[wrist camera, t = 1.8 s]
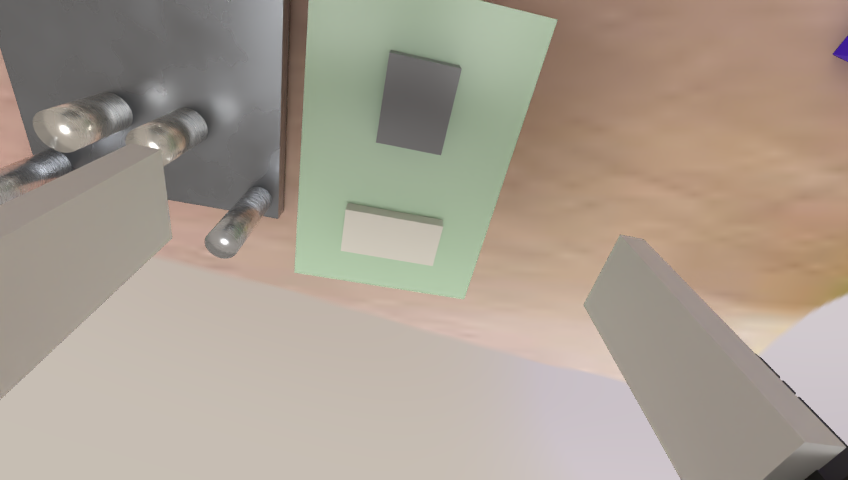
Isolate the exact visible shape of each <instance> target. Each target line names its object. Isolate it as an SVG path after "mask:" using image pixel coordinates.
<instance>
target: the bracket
mask: <svg viewBox="0 0 848 480" xmlns="http://www.w3.org/2000/svg"><path fill="white" fill-rule="evenodd" d="M833 55H835V56H837V57H839V58H841V59H843V60H845V61H847V62H848V36H847V37H846V38H845V39H844V41H843V42H842V43H841V44H840V46H839V47H838V48H837V49H836V51H835V52H834V53H833Z"/></svg>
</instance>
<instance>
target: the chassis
mask: <svg viewBox="0 0 848 480" xmlns="http://www.w3.org/2000/svg"><path fill="white" fill-rule="evenodd" d="M289 23H290V0H0V48H1V51H2V55H3V58H4V61H5V65H6V68H7V71H8V74H9V78H10V81H11V84H12V88H13V91H14V94H15V97H16V101H17V104H18V107H19V110H20V114H21V117H22V120H23V124H24V127H25V130H26V133H27V137H28V140H29V143H30V147H31V150H32V153H33V156H30V157H28V158H25V159H23V160H20V161H18V162H15V163H13V164H10V165H8V166H5V167H3V168H0V205H2V204H4V203H6V202H8V201H10V200H12V199H14V198H17V197H19V196H21V195H23V194H25V193H27V192H29V191H31V190H33V189H36V188H38V187H40V186H42V185H44V184H46V183H48V182H50V181H52V180H55V179H57V178H59V177H61V176H63V175H65V174H67V173H69V172H71V171H73V170H76V169H78V168H80V167H82V166H84V165H86V164H88V163H90V162H92V161H95V160H97V159H99V158H101V157H103V156H105V155H107V154H109V153H111V152H114V151H116V150H118V149H120V148H122V147H124V146H126V145H128V144H136V145H141V146H146V147H152V148H157V149H161V151H162V159H163V167H164V175H165V184H166V192H167V200H173V201H179V202H184V203H190V204H196V205H202V206H208V207H213V208H219V209H225V210H229V211H228V213H227V214H226V215H225V216H224V217H223V218H222V219H221V220H220V222H219V223H218V224H217V225H216V226H215V227H214V228H213V229H212V230H211V232H210V233H209V234H208V235H207V236H206V238H205V246H206V248H207V249H208V251H209V252H210V253H212V254H213V255H215V256H217V257H219V258H231V257H233V256H234V255H235V254H236V253H237V252H238V250H239V249H240V247H241V246H242V245H243V243H244V242H245V240H246V239H247V238H248V236H249V235H250V234H251V232H252V231H253V229H254V228H255V227H256V225H257V224H258V222H259V221H260V220H261V218H262V217H263V216H266V217H271V218H277V219H278V218H279V217H280V215H281V213H282V212H283V210H284V181H285V150H286V118H287V86H288V54H289Z"/></svg>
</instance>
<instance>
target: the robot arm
mask: <svg viewBox="0 0 848 480" xmlns="http://www.w3.org/2000/svg"><path fill="white" fill-rule="evenodd" d="M171 239H172V232H171V224H170V216H169V208H168V200H167V192H166V184H165V175H164V167H163V159H162V151H161V149H157V148H152V147H146V146H141V145H136V144H128V145H126V146H124V147H122V148H120V149H118V150H116V151H114V152H111V153H109V154H107V155H105V156H103V157H101V158H99V159H97V160H95V161H92V162H90V163H88V164H86V165H84V166H82V167H80V168H78V169H76V170H73V171H71V172H69V173H67V174H65V175H63V176H61V177H59V178H57V179H55V180H52V181H50V182H48V183H46V184H44V185H42V186H40V187H38V188H36V189H33V190H31V191H29V192H27V193H25V194H23V195H21V196H19V197H17V198H14V199H12V200H10V201H8V202H6V203H4V204H2V205H0V400H1V399H2V398H3V397H4V396H5V395H6V394H7V393H8V392H9V391H10V390H11V389H12V388H13V387H14V386H15V385H17V384H18V383H19V382H20V381H21V380H22V379H23V378H24V377H25V376H26V375H27V374H28V373H29V372H30V371H31V370H33V369H34V368H35V367H36V366H37V365H38V364H39V363H40V362H41V361H42V360H43V359H44V358H45V357H46V356H47V355H48V354H49V353H51V352H52V351H53V350H54V349H55V348H56V347H57V346H58V345H59V344H60V343H61V342H62V341H63V340H64V339H65V338H67V337H68V336H69V335H70V334H71V333H72V332H73V331H74V330H75V329H76V328H77V327H78V326H79V325H80V324H81V323H82V322H84V321H85V320H86V319H87V318H88V317H89V316H90V315H91V314H92V313H93V312H94V311H95V310H96V309H97V308H98V307H99V306H100V305H102V304H103V303H104V302H105V301H106V300H107V299H108V298H109V297H110V296H111V295H112V294H113V293H114V292H115V291H117V290H118V288H119V287H121V286H122V285H123V284H124V283H125V282H126V281H127V280H128V279H129V278H130V277H131V276H132V275H133V274H134V273H136V272H137V271H138V270H139V269H140V268H141V267H142V266H143V265H144V264H145V263H146V262H147V261H148V260H149V259H151V258H152V257H153V256H154V255H155V254H156V253H157V252H158V251H159V250H160V249H161V248H162V247H163V246H164V245H165V244H166V243H168V242H169V241H170V240H171ZM584 307H585V308H586V310H587V312H588V314H589V316H590V317H591V319H592V321H593V323H594V325H595V326H596V328H597V330H598V332H599V334H600V335H601V337H602V339H603V341H604V342H605V344H606V346H607V348H608V350H609V351H610V353H611V355H612V357H613V359H614V360H615V362H616V364H617V366H618V368H619V369H620V371H621V373H622V375H623V377H624V378H625V380H626V382H627V384H628V386H629V387H630V389H631V391H632V393H633V394H634V396H635V398H636V400H637V402H638V403H639V405H640V407H641V409H642V411H643V412H644V414H645V416H646V418H647V420H648V421H649V423H650V425H651V427H652V429H653V430H654V432H655V434H656V436H657V438H658V439H659V441H660V443H661V445H662V447H663V448H664V450H665V452H666V454H667V455H668V457H669V459H670V461H671V463H672V464H673V466H674V468H675V470H676V472H677V473H678V475H679V477H680V479H681V480H848V446H847V445H846V444H845V443H844V442H843V441H842V440H841V439H840V438H839V437H838V436H837V435H836V434H835V432H834V431H832V429H831V428H830V427H829V426H828V425H827V424H826V423H825V422H824V421H823V420H822V419H821V418H820V417H819V416H818V415H817V414H816V413H815V412H814V411H813V410H812V409H811V408H810V407H809V406H808V405H807V404H806V403H805V402H804V401H803V400H802V399H801V398H800V397H797V396H796V395H795V394H796V393H795V392H794V391H793V390H792V389H791V388H790V387H789V386H788V385H787V384H786V383H785V382H784V381H781V380H780V376H779V375H778V374H777V373H775V371H774V370H773V369H771V367H770V366H769V365H768V364H767V363H766V362H765V361H764V360H763V359H762V358H761V357H759V356H758V355H757V354H755V353H754V352H753V351H752V350H751V349H750V348H749V347H748V346H747V345H746V344H745V343H744V342H743V341H742V340H741V339H740V338H739V337H738V336H737V335H736V334H735V332H734V331H733V330H732V329H731V328H730V327H729V326H728V325H727V324H726V323H725V322H724V321H723V320H722V319H721V318H720V317H719V316H718V315H717V314H716V313H715V312H714V311H713V310H712V309H711V308H710V307H709V306H708V305H707V304H706V303H705V302H704V301H703V300H702V299H701V298H700V297H699V296H698V295H697V293H696V292H695V291H694V290H693V289H692V288H691V287H690V286H689V285H688V284H687V283H686V282H685V281H684V280H683V279H682V278H681V277H680V276H679V275H678V274H677V273H676V272H675V271H674V270H673V269H672V268H671V267H670V266H669V265H668V264H667V263H666V262H665V261H664V260H663V259H662V258H661V257H660V256H659V254H658V253H657V252H656V251H655V250H654V249H653V248H652V247H651V246H650V245H649V244H648V243H647V242H646V241H645V240H644V239H641V238H635V237H630V236H625V235H620V236H619V238H618V240H617V242H616V244H615V245H614V247H613V249H612V251H611V253H610V255H609V257H608V259H607V261H606V263H605V265H604V266H603V268H602V270H601V272H600V274H599V276H598V278H597V280H596V282H595V284H594V286H593V287H592V289H591V291H590V293H589V295H588V297H587V299H586V301H585V303H584Z"/></svg>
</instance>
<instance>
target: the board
mask: <svg viewBox="0 0 848 480" xmlns="http://www.w3.org/2000/svg"><path fill="white" fill-rule="evenodd" d="M556 23H557V19H553V18H549V17H545V16H541V15H537V14H533V13H529V12H525V11H521V10H517V9H513V8H509V7H505V6H501V5H497V4H493V3H489V2H485V1H481V0H309V3H308V22H307V41H306V61H305V80H304V99H303V118H302V138H301V157H300V176H299V196H298V215H297V234H296V253H295V273H300V274H306V275H313V276H319V277H325V278H332V279H338V280H344V281H351V282H357V283H363V284H370V285H376V286H382V287H389V288H395V289H401V290H408V291H414V292H420V293H427V294H433V295H439V296H446V297H452V298H458V299H464V298H465V295H466V292H467V289H468V286H469V283H470V280H471V277H472V274H473V271H474V268H475V265H476V262H477V259H478V256H479V253H480V250H481V247H482V244H483V241H484V238H485V235H486V232H487V229H488V226H489V223H490V220H491V217H492V214H493V211H494V208H495V205H496V202H497V199H498V196H499V193H500V190H501V187H502V184H503V181H504V178H505V175H506V172H507V169H508V166H509V163H510V160H511V157H512V154H513V151H514V148H515V145H516V142H517V139H518V137H519V134H520V131H521V128H522V125H523V122H524V119H525V116H526V113H527V110H528V107H529V104H530V101H531V98H532V95H533V92H534V89H535V86H536V83H537V80H538V77H539V74H540V71H541V68H542V65H543V62H544V59H545V56H546V53H547V50H548V47H549V44H550V41H551V38H552V35H553V32H554V29H555V26H556Z"/></svg>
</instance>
